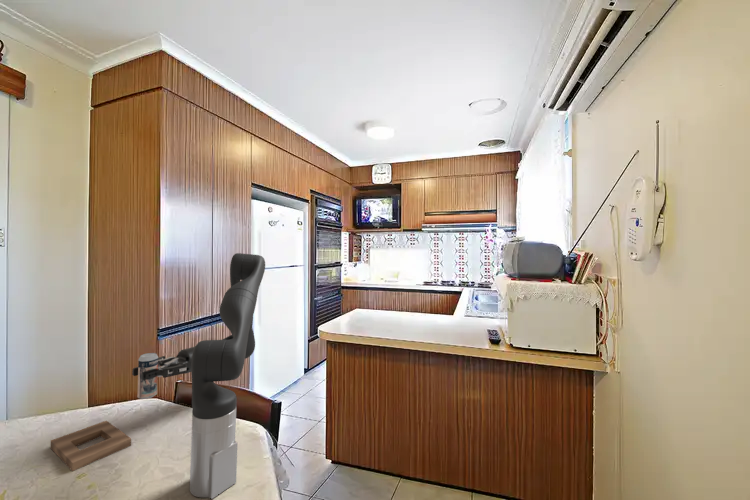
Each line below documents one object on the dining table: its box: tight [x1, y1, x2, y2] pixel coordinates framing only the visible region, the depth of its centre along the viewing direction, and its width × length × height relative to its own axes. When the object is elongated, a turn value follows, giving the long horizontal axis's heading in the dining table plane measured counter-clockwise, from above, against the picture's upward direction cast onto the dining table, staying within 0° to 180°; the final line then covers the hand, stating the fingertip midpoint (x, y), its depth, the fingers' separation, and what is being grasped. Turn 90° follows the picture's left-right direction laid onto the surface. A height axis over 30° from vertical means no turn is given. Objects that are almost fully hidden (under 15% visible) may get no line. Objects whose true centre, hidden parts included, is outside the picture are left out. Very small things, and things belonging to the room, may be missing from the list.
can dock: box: [49, 420, 132, 472], centre depth 86 cm, size 16×12×2 cm
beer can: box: [136, 352, 159, 400], centre depth 92 cm, size 5×5×12 cm
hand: (137, 374), depth 90 cm, fingers closed on beer can, 4 cm apart
